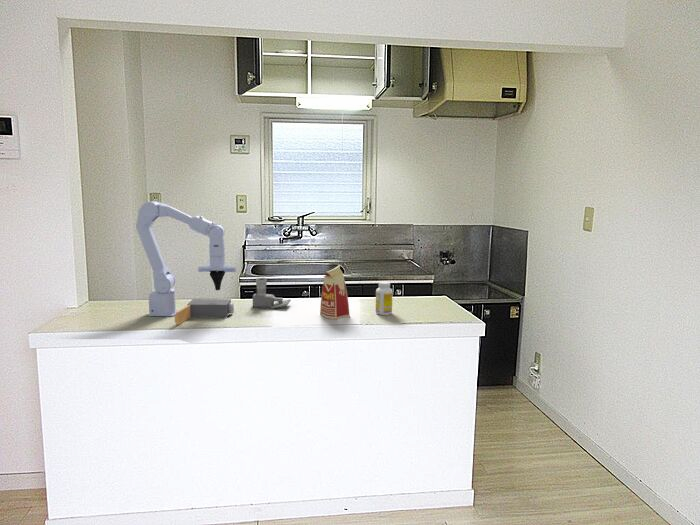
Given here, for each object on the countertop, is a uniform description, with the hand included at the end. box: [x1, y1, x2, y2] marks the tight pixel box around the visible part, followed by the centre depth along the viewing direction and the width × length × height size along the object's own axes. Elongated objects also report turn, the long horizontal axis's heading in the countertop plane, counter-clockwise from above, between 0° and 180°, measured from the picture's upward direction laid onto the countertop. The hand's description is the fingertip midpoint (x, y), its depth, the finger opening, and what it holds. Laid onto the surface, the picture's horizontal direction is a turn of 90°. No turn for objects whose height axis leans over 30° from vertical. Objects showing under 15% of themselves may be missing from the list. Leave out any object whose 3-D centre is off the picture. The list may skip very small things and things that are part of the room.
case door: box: [174, 305, 192, 326], centre depth 198 cm, size 11×2×5 cm, turn 174°
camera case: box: [186, 298, 235, 318], centre depth 209 cm, size 17×9×5 cm, turn 92°
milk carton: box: [319, 264, 351, 320], centre depth 208 cm, size 9×9×20 cm
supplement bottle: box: [375, 280, 393, 316], centre depth 214 cm, size 7×7×13 cm
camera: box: [252, 277, 291, 310], centre depth 221 cm, size 9×12×15 cm
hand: (217, 289), depth 210 cm, fingers closed
